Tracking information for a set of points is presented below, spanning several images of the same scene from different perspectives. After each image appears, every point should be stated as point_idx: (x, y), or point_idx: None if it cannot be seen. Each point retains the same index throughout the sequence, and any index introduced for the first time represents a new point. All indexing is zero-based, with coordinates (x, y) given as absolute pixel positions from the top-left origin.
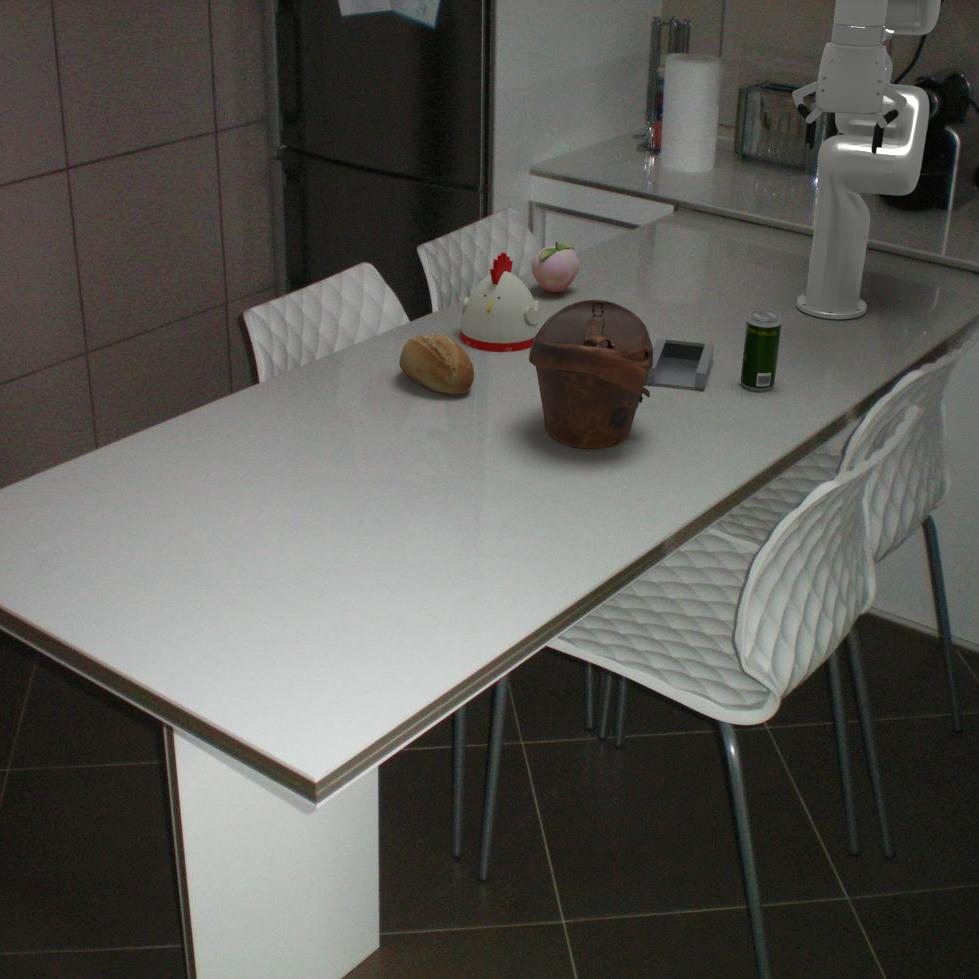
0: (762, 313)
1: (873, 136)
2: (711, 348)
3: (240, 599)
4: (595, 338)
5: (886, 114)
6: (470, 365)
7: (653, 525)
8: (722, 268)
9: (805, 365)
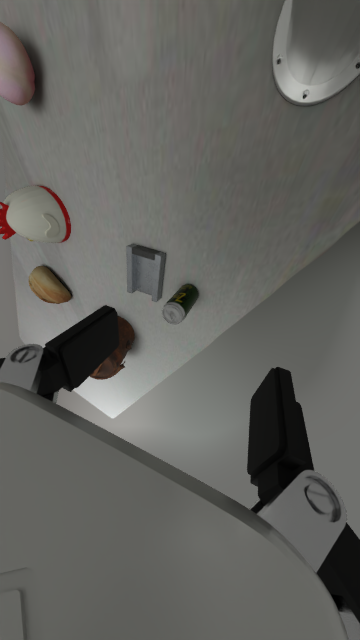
0: (171, 309)
1: (262, 423)
2: (159, 263)
3: None
4: (92, 375)
5: (320, 575)
6: (61, 297)
7: (149, 384)
8: None
9: (228, 259)
